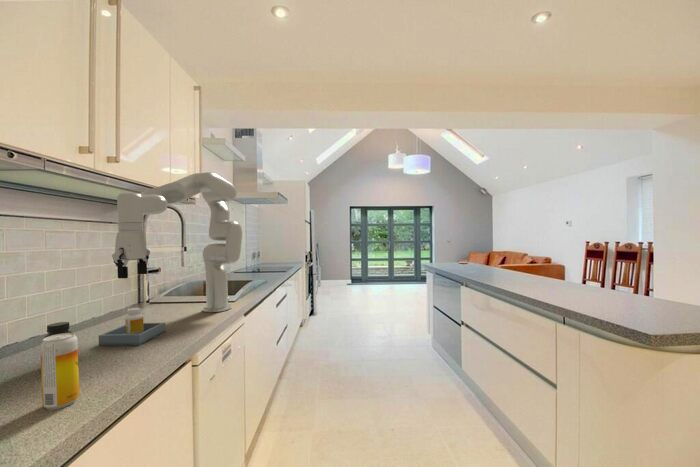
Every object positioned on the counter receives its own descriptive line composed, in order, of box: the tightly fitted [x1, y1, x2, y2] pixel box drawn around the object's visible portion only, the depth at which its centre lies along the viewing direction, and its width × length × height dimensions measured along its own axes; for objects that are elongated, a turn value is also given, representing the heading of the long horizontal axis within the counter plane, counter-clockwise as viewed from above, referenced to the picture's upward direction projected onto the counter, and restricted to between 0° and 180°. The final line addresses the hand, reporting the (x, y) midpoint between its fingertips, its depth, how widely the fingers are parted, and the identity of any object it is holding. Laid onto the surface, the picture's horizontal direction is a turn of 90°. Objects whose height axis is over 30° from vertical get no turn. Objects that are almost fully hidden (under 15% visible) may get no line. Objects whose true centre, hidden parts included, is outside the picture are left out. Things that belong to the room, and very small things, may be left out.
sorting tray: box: [98, 322, 166, 347], centre depth 113 cm, size 14×14×4 cm
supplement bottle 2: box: [124, 307, 144, 334], centre depth 114 cm, size 5×5×10 cm
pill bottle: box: [39, 332, 80, 411], centre depth 71 cm, size 6×6×15 cm
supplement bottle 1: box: [41, 321, 74, 342], centre depth 92 cm, size 7×7×12 cm
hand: (133, 276), depth 113 cm, fingers open, 9 cm apart
